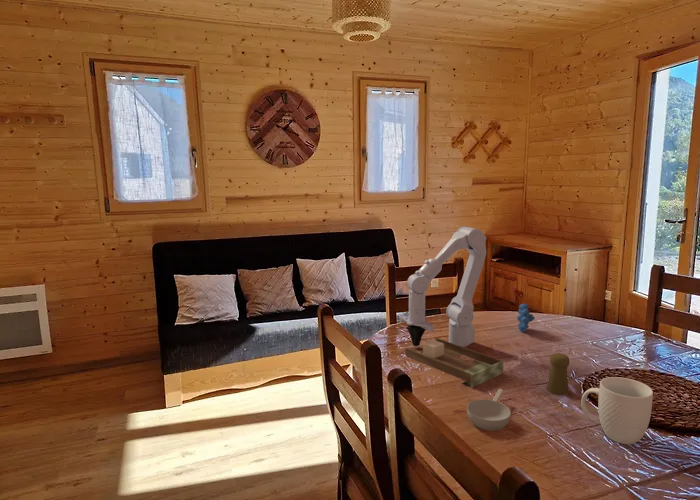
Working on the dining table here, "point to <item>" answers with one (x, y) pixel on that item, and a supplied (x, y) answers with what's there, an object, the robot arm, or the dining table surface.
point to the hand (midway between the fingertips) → (416, 345)
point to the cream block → (433, 348)
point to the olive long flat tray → (461, 363)
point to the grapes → (524, 317)
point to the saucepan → (489, 413)
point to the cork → (558, 374)
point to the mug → (622, 408)
